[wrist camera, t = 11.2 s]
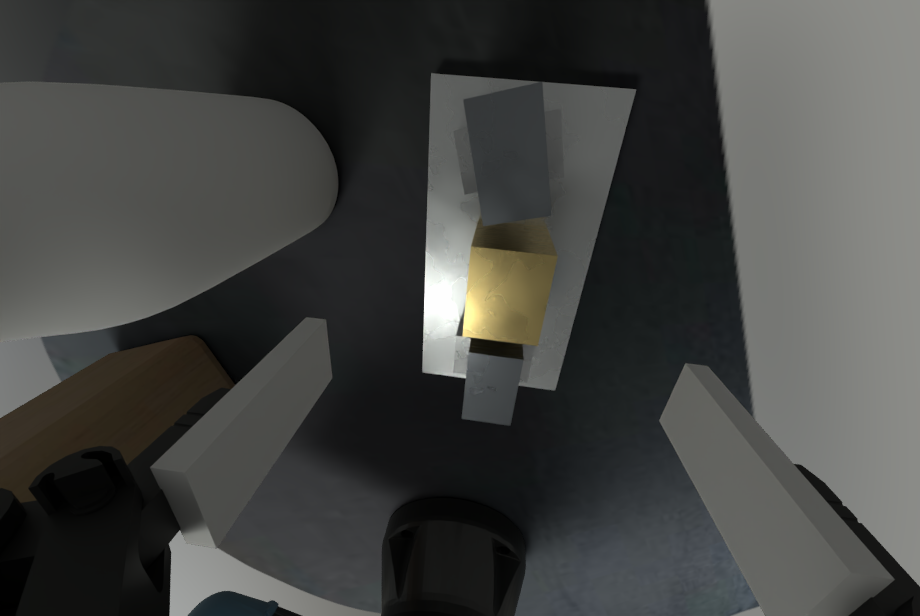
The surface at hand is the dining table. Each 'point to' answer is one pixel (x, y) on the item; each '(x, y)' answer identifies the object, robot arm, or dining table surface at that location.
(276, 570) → the dining table surface
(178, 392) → the wooden block
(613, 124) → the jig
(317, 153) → the milk bottle
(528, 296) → the gold cube-like block
